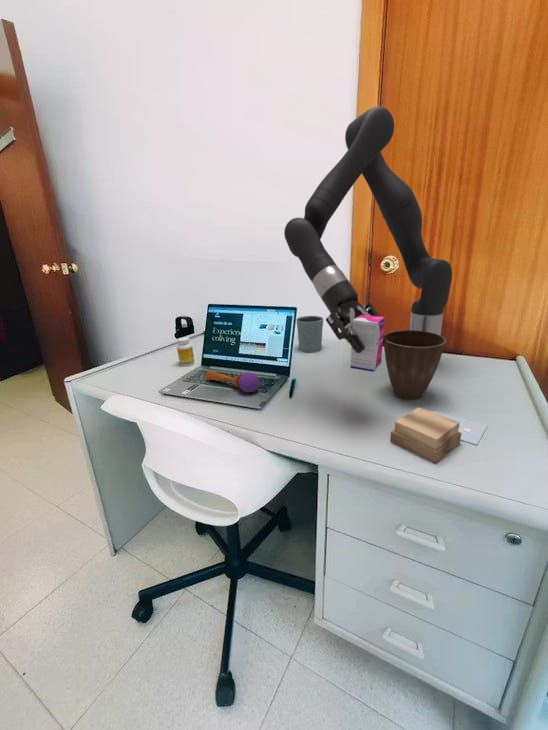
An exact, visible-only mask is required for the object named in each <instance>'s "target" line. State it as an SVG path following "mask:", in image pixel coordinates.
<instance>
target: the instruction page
mask: <svg viewBox="0 0 548 730" xmlns="http://www.w3.org/2000/svg"><path fill="white" fill-rule="evenodd" d="M430 412H433V413H436V414H438V415H441V416H444V417H446V418H449V419H452V420H454V421H457V422H460V423H459V429H458V432H460V433H461V439H460V442H464V443H468V444H471V445H474V446H478V444H479V443H480V440H481V439H482V437H483V435H484V433H485V432H486V429H487V428H488V425H484V424H482V423H478V422H474V421H472V420H467V419H463V418H460V417H457V416H453V415H449V414H445V413H443V412H439V411H436V410H435V411H434V410H431V411H430Z"/></svg>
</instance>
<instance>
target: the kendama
mask: <svg viewBox="0 0 548 730" xmlns="http://www.w3.org/2000/svg"><path fill="white" fill-rule="evenodd" d="M205 372H206V373H205V379H206V381H210V380H215V381H217V382H218V381H219V382H232V383H233V384H234V385H235V386H236V387H237V388H238V389H240V390H241V391H242V392H244V393H246V392H247V393H246V394H250V393H249V392H252V393H254V392H256V391H257V390H258V388H259V386H260V379H259V377H258V376H257V374H255V373H254V372H250V371H249V372H244V373H243V374H242V373H241V374H238V375H235V376H233V377H232V376H229V375H226V374H223V373H219V372H217V371H214V370H210V369H209V370H208V371H205Z"/></svg>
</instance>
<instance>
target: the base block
mask: <svg viewBox="0 0 548 730" xmlns="http://www.w3.org/2000/svg"><path fill="white" fill-rule="evenodd" d="M459 423H460V422H457V421H454V420H452V419H449V418H446V417H444V416H441V415H438V414H436V413H433V412H431V411H430V410H429V409H425V408H422V407H419V406H418V407H417V408H415V409H414V410H412V411H411V412H409V413H406V414H405V415H404V416H402V417H400V418H398V419H397V420H396V421H394V429H393V430H392V431H390V436H389V437H390V439H389V442H390V443H392V444H393V445H396V446H398V447H400V448H401V449H402V448H403V450H406V451H408V452H411V453H413V454H414V455H417V456H419V457H421V458H423V459H425V460H427V461H429V462H431V463H433V464H436V463H437V462H439V461H440V460H441V459H442V458H444V457H445V456H446V455H447V454H448V453H450V452H451V451H452V450H454V448H456V447H457V446H458V445H459V444H461V440H460V439H461V433H460V432H458V429H459Z"/></svg>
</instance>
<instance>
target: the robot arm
mask: <svg viewBox="0 0 548 730" xmlns="http://www.w3.org/2000/svg"><path fill="white" fill-rule="evenodd" d="M394 131H395V120H394V117H393V115H392V112H391V111H390V110H388V108H386V107H383V106H375V107H371V108H370V109H368V110H366V111H365V112H363V113H362V114H360V115H359V116H357V118H355V119H354V120H352V121H351V122H350V123H349V124H348V126H347V128H346V130H345V134H344V135H345V136H344V140H345V145H346V146H345V147H346V148H347V151H346V152H345V153H344V155H343V156H342V158H341V159H340V160H339V161H338V162H337V163H336V164H335V165H334V167H333V168H332V169H331V170H330V171H329V172H328V173H327V174H326V175H325V176H324V177H323V179H322V180H321V181H320V183H319V184H318V186H317V187H316V188H315V190H314V191H313V193H312V195H311V196H310V198H309V199H308V200H307V202H306V204H305V207H304V216H303V217H294V218H291V219H290V220H289V221H288V222H287V223H286V225H285V227H284V231H283V232H284V234H283V235H284V239H285V241H286V244H287V246H288V248H289V251H290V252H291V254H292V255H294V257H296V258H298V260H299V261H300V263H301V266H302V268H303V270H304V272H305V274H306V275H307V277H308V279H309V280H310V281H311V283H312V285H313V287H314V289H315V291H316V293H317V294H318V296H319V298H320V299H321V301H322V302H323V303H324V305H325V307H326V308H327V311H329V315H328V316H327V317H326V318H325V321H326V323H327V324H328V325H329V327H330V329H331V330H332V332H333V333H334V336H336V338H337V339H338V340H340V341H341V340H345V341H347V342H348V343H349V345H350V347H351V346H352V347H353V349H354V350H355V351H356V352H357V353H361V352H362V351H363V350H364V349H365V347H364V345H363V344H362V342H361V341H360V339H359V337H358V336H357V334H356V335H354V334H355V330H354V329H353V327H352V326H353V320H354V319H356V318H357V317H359V316H360V315H369V316H379V317H381V316H380V315H379V313H378V312H377V310H376V309H375V307H374V305H373V304H372V303H371V302H367V303H366V304H364V305H363V304H361V303H360V302H359V300H358V299H359V294H358V292H357V290H356V289H355V288H354V286H353V285H352V283H351V282H350V281H349V279H348V278H347V276H346V275H345V273H344V272H343V271H342V270H341V269H340V268H339V266H338V265H337V264H336V262H335V261H334V260H333V259H334V258H332V256H331V255H330V254H329V252H328V251H327V249H326V248H325V246H324V245H323V243H322V241H321V240H322V237H323V234H324V232H325V230H326V228H327V224H328V223H329V221H330V219H331V218H332V217H333V216H334V214H335V212H336V211H337V209H338V208H339V206H340V205H341V203H342V202H343V200H344V199H345V198H346V196H347V194H348V193H349V191H350V190H351V188H352V187H353V186H354V184H355V183H356V182H357V180H359V178H360V176H361V175H362V177H363V179H364V180H365V182H366V184H367V185H368V188H369V189H370V190H369V191H371V194H372V196H373V197H374V200H375V201H376V204H377V206H378V208H379V211H380V213H381V215H382V218H383V220H384V222H385V224H386V226H387V228H388V230H389V232H390V234H391V236H392V238H393V240H394V242H395V244H396V246H397V248H398V251H399V253H400V255H401V258H402V261H403V263H404V267H405V270H406V274H407V275H408V278H409V281H410V282H411V284H412V285H413V286H414V287H415V288H418V289H421V291H420V296H419V297H420V298H419V299H418V300H416V301H414V302H413V303H411V308H410V309H411V310H410V318H409V319H410V322H409V330H417V331H426V332H431V333H435V334H438V335H440V336H442V335H441V334H442V326H443V318H444V311H445V310H444V309H445V307H446V306H447V303H448V301H449V297H450V291H451V290H450V289H451V285H452V280H453V279H452V278H453V269H452V266H451V264H450V263H449V262H448V260H445V259H442V258H432V257H431V256H430V254H429V252H428V250H427V248H426V246H425V244H424V241H423V237H422V234H423V215H422V210H421V207H420V205H419V202H418V200H417V197H416V196H415V193H414V191H413V189H412V188H411V187H410V186H409V185H408V183H406V182H405V181H404V180H403V179H402V178H400V177H399V175H397V174H396V173H395V172H393V171H392V169H391V168H390V167H389V165H388V163H387V162H386V161H385V158H384V156H383V153H382V151H383V149H385V148H386V146H387V145H388V144H390V141H391V140H392V138H393V136H394ZM386 341H387V339H386V337H385V334H384V337H383V344H384V343H385V342H386Z"/></svg>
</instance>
